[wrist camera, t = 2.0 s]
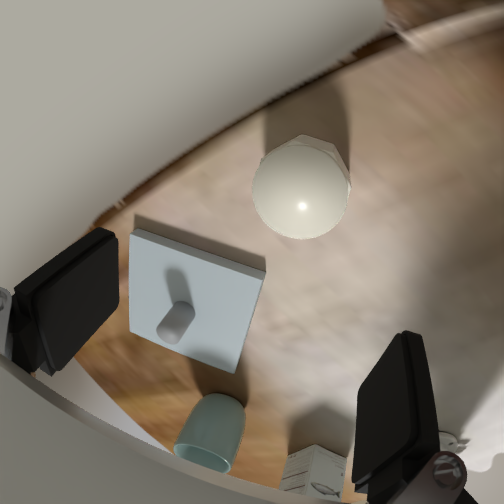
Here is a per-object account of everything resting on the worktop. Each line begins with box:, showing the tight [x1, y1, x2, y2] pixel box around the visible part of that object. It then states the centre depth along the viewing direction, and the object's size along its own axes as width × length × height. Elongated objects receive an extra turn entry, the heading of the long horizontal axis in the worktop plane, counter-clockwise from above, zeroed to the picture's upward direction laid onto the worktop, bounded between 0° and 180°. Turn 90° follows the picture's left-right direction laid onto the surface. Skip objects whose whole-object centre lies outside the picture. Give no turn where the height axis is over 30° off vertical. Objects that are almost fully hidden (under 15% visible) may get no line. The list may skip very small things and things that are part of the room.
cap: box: [252, 134, 351, 239], centre depth 23 cm, size 6×6×6 cm
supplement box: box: [279, 444, 347, 502], centre depth 39 cm, size 7×7×13 cm
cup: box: [173, 393, 246, 474], centre depth 38 cm, size 8×8×10 cm
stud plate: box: [129, 228, 266, 374], centre depth 33 cm, size 14×14×6 cm
